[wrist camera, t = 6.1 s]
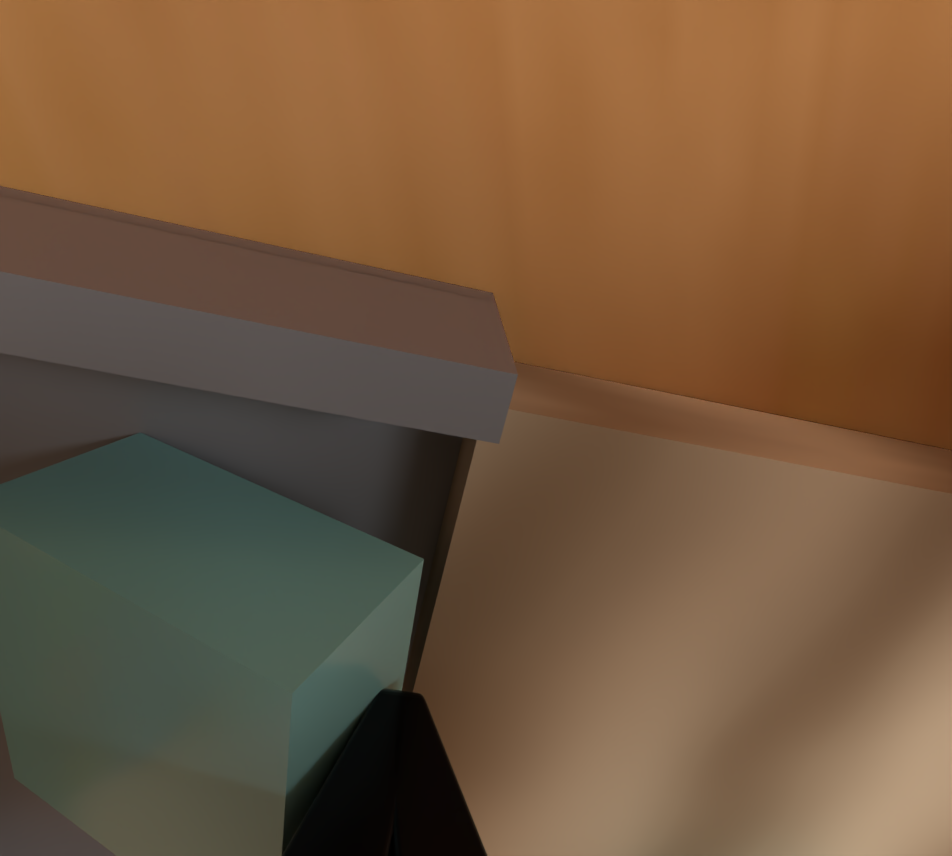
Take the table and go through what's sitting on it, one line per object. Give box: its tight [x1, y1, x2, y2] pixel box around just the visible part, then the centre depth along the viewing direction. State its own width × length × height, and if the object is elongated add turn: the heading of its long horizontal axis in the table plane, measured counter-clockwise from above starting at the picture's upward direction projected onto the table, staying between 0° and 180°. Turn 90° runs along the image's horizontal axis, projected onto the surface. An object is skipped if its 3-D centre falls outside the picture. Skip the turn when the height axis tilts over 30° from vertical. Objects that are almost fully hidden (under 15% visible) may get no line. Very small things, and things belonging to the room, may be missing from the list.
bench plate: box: [402, 362, 952, 856], centre depth 13 cm, size 14×16×2 cm
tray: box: [0, 186, 518, 856], centre depth 11 cm, size 10×18×4 cm, turn 167°
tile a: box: [0, 433, 424, 856], centre depth 9 cm, size 5×5×2 cm
